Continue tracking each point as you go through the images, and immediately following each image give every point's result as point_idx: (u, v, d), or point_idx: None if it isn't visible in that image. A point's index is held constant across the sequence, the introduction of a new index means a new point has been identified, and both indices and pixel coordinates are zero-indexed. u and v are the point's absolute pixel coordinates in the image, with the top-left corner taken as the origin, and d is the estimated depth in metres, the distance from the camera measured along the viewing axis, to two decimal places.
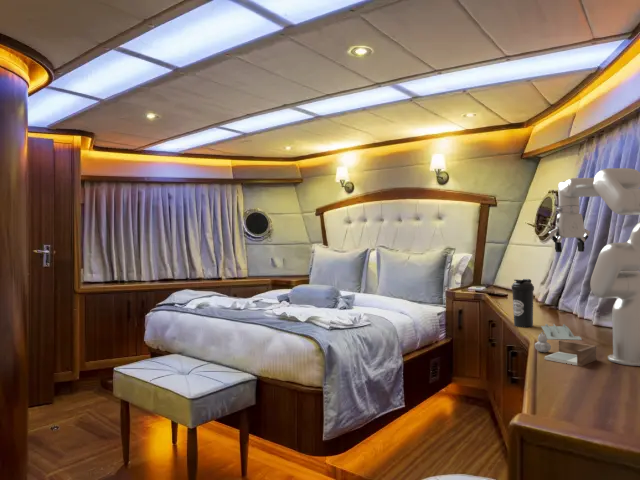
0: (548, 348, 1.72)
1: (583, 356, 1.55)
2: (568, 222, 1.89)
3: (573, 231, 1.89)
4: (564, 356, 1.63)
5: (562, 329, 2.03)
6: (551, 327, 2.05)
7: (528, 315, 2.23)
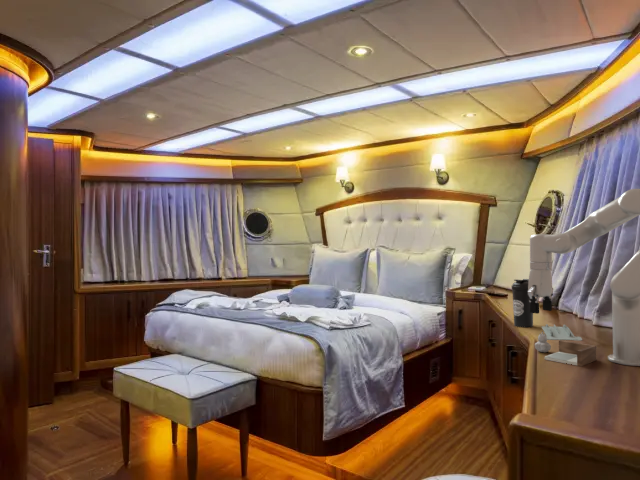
0: (548, 348, 1.72)
1: (583, 356, 1.55)
2: None
3: None
4: (564, 356, 1.63)
5: (562, 329, 2.02)
6: (551, 327, 2.05)
7: (528, 315, 2.23)
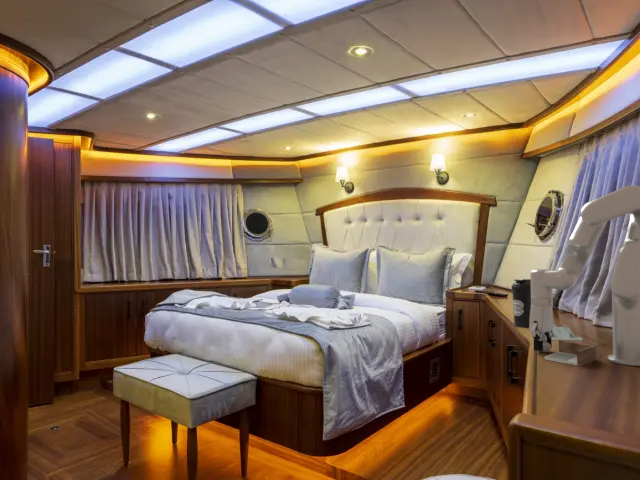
0: (548, 348, 1.72)
1: (583, 356, 1.55)
2: None
3: None
4: (564, 356, 1.63)
5: (563, 330, 2.02)
6: None
7: (528, 315, 2.23)
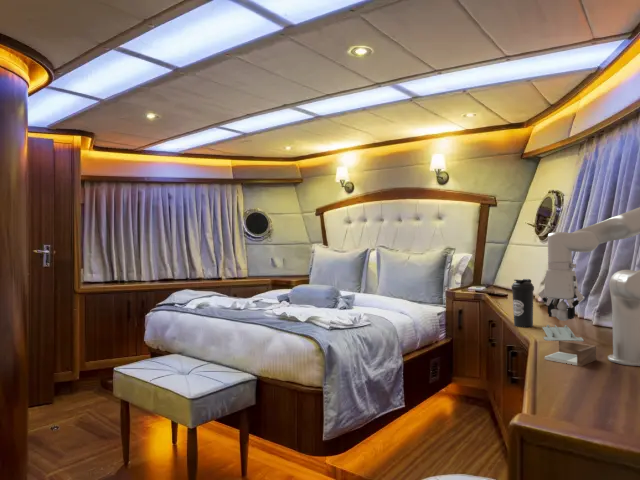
0: (558, 316, 1.62)
1: (583, 356, 1.55)
2: None
3: None
4: (564, 356, 1.63)
5: (564, 330, 2.01)
6: (552, 328, 2.03)
7: (528, 315, 2.23)
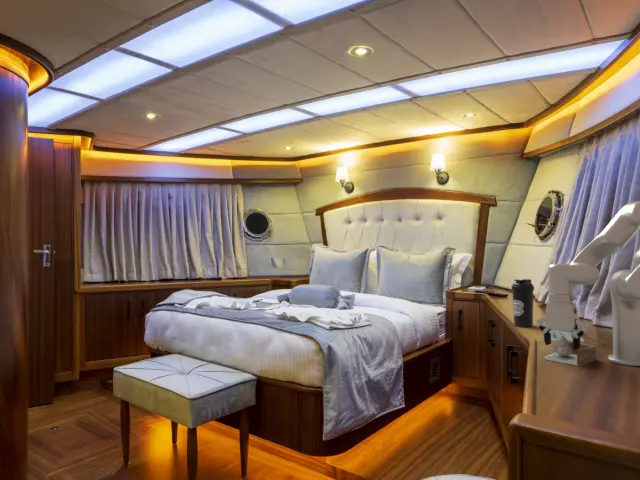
0: (558, 352, 1.62)
1: (583, 356, 1.55)
2: None
3: None
4: None
5: None
6: None
7: (528, 315, 2.23)
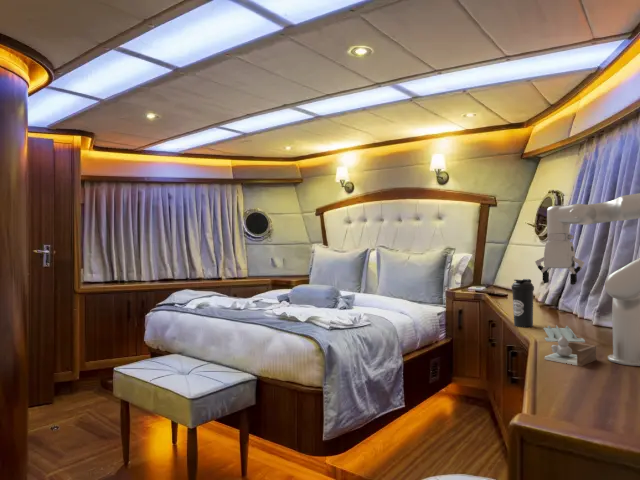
0: (558, 352, 1.62)
1: (583, 356, 1.55)
2: None
3: None
4: None
5: (565, 331, 1.99)
6: (554, 329, 2.02)
7: (528, 315, 2.23)
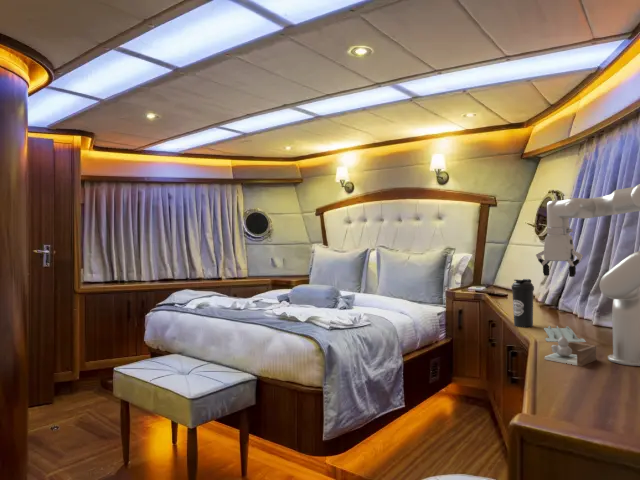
0: (558, 352, 1.62)
1: (583, 356, 1.55)
2: None
3: None
4: None
5: (565, 331, 1.98)
6: (554, 329, 2.01)
7: (528, 315, 2.23)
